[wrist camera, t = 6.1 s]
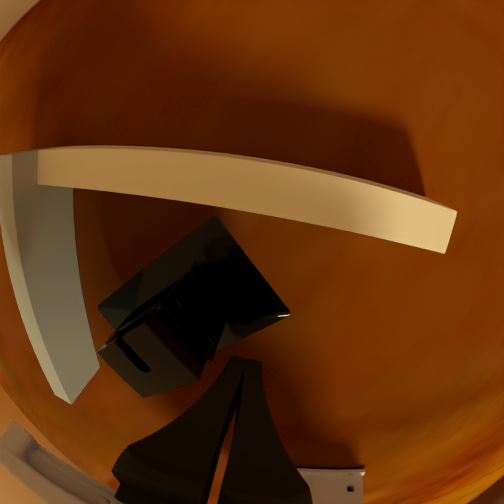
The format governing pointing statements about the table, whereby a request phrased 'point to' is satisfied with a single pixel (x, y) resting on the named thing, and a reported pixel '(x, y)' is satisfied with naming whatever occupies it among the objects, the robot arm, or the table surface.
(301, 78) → the table surface
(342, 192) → the fence
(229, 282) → the black block with recess
